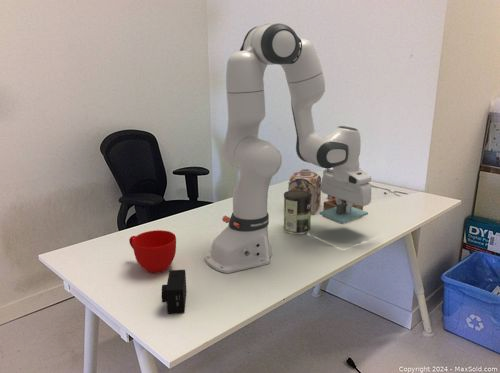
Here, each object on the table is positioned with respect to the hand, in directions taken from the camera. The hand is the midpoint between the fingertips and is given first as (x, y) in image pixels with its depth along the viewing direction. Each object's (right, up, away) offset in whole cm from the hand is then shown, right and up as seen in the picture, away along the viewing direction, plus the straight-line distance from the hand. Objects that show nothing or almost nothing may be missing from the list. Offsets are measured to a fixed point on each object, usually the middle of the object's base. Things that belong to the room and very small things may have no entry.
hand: (343, 210), depth 144 cm
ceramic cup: (-64, -17, -17) cm, 68 cm away
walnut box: (+4, -4, +20) cm, 21 cm away
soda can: (+5, +2, +41) cm, 41 cm away
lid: (0, -2, +1) cm, 3 cm away
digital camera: (-53, -22, -36) cm, 68 cm away
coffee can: (-16, -8, +10) cm, 20 cm away
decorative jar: (-10, -2, +29) cm, 31 cm away
